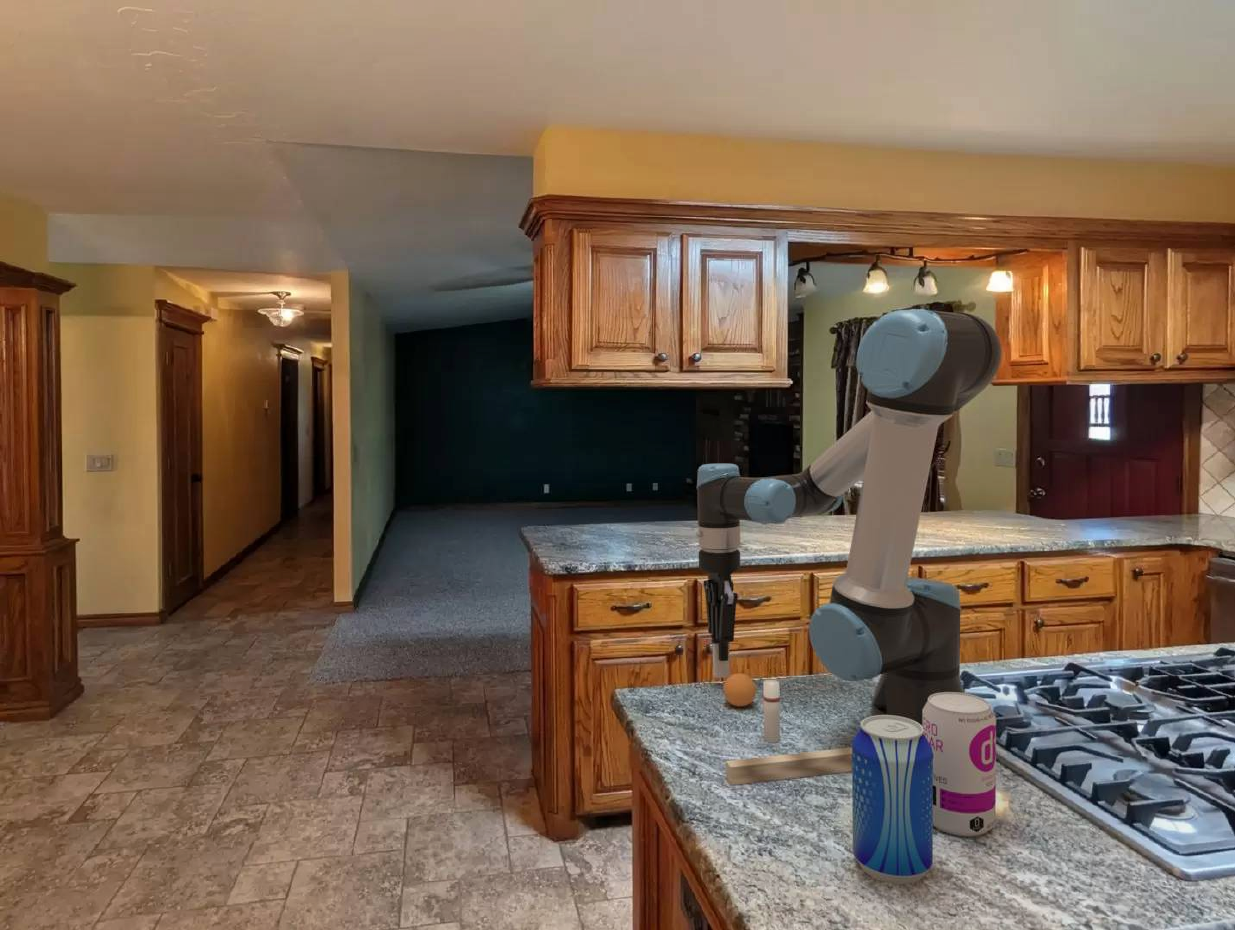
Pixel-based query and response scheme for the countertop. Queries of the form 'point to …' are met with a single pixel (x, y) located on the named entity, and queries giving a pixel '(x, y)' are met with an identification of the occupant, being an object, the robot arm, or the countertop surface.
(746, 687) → the ball
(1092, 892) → the countertop surface
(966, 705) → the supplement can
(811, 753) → the bar
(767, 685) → the pin
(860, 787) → the beer can
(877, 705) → the robot arm
